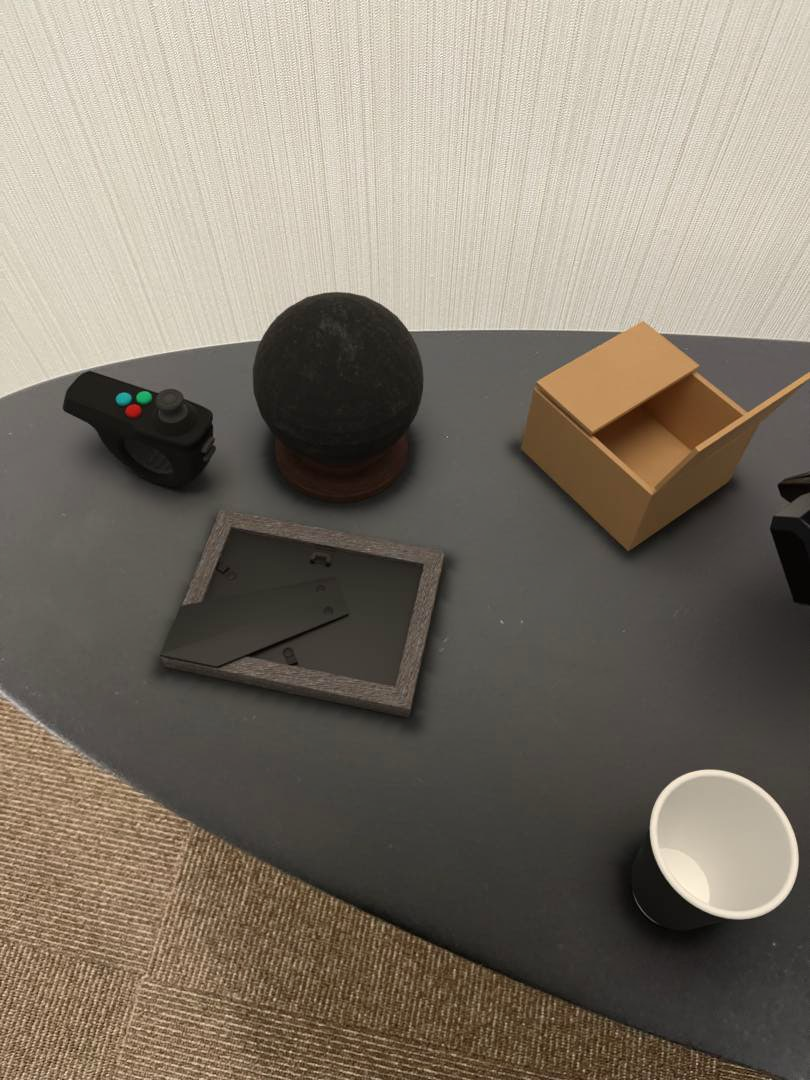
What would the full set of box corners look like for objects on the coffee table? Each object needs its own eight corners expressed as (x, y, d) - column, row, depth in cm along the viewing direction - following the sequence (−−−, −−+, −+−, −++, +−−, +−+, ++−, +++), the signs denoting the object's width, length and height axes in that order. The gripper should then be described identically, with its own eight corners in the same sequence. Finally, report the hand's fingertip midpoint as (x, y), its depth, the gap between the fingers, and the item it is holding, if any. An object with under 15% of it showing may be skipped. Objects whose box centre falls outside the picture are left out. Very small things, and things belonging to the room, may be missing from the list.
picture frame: (165, 667, 65) (409, 718, 64) (159, 654, 64) (410, 706, 62) (223, 520, 73) (443, 562, 71) (219, 505, 71) (445, 548, 70)
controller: (208, 511, 73) (186, 430, 65) (77, 462, 76) (41, 377, 67) (234, 473, 75) (216, 389, 67) (107, 426, 78) (75, 340, 70)
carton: (728, 481, 77) (764, 415, 70) (628, 551, 72) (654, 488, 65) (620, 389, 82) (642, 319, 75) (520, 449, 78) (534, 381, 71)
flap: (761, 415, 70) (764, 419, 70) (653, 487, 66) (656, 491, 65) (810, 371, 64) (814, 375, 64) (695, 447, 60) (699, 451, 60)
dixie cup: (734, 967, 55) (806, 931, 46) (604, 943, 56) (649, 903, 47) (729, 837, 60) (794, 781, 51) (609, 817, 60) (651, 757, 51)
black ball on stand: (386, 532, 73) (389, 404, 60) (237, 484, 75) (210, 351, 62) (439, 416, 80) (452, 280, 67) (301, 376, 82) (289, 237, 69)
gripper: (1078, 291, 51) (834, 326, 65) (874, 441, 44) (651, 444, 58) (1114, 469, 54) (874, 465, 68) (929, 634, 47) (705, 593, 61)
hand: (782, 487), depth 63 cm, fingers closed
